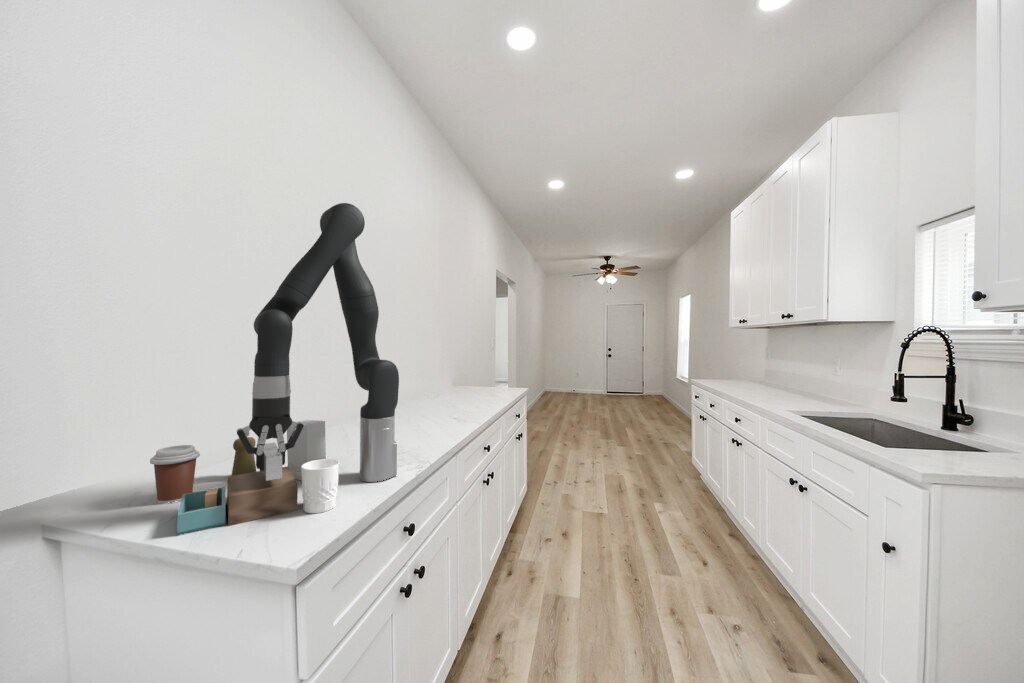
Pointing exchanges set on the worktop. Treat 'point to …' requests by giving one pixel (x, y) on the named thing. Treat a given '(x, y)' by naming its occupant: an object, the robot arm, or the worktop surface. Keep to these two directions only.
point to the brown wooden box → (260, 496)
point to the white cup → (320, 485)
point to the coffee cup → (174, 472)
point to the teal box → (200, 512)
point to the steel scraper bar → (272, 462)
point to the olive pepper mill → (243, 458)
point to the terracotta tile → (212, 497)
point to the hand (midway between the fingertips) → (270, 468)
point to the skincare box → (306, 446)
